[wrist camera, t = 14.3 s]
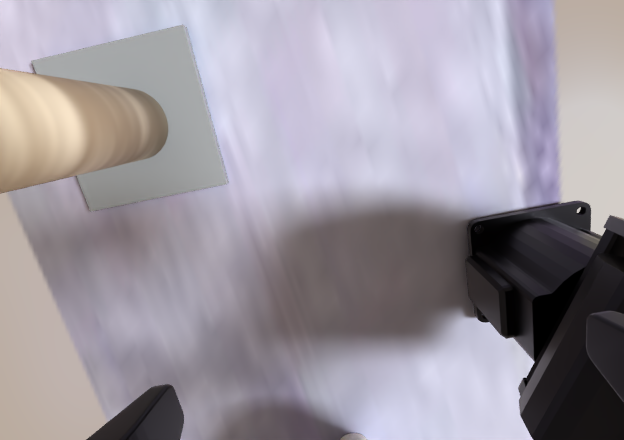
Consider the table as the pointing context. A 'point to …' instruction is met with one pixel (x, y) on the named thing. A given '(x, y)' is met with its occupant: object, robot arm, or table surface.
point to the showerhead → (353, 437)
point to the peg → (71, 128)
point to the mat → (175, 103)
